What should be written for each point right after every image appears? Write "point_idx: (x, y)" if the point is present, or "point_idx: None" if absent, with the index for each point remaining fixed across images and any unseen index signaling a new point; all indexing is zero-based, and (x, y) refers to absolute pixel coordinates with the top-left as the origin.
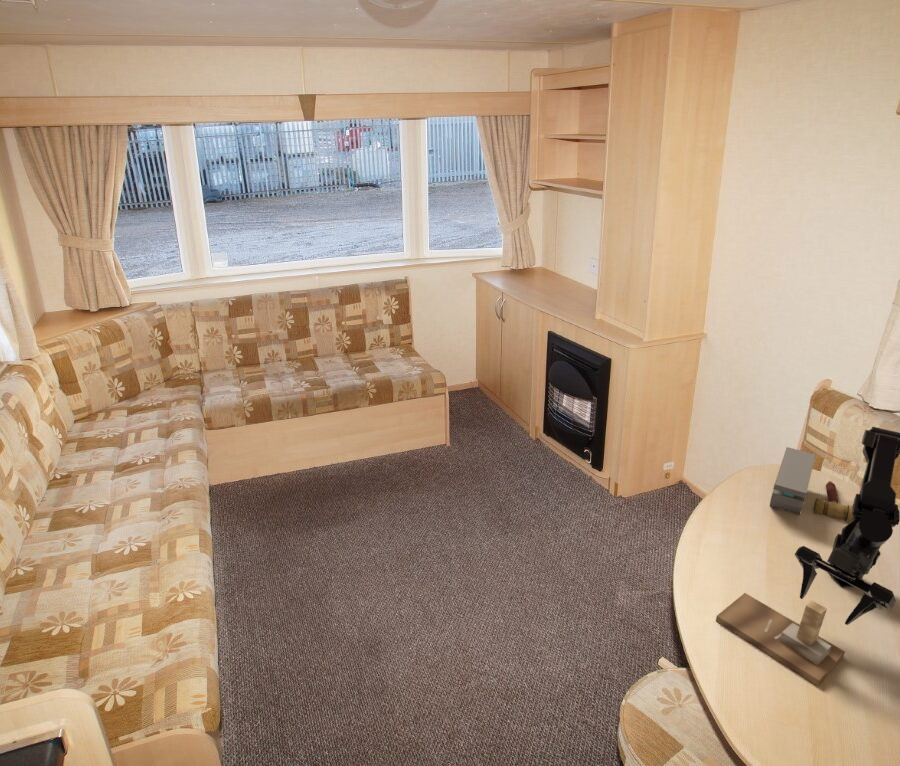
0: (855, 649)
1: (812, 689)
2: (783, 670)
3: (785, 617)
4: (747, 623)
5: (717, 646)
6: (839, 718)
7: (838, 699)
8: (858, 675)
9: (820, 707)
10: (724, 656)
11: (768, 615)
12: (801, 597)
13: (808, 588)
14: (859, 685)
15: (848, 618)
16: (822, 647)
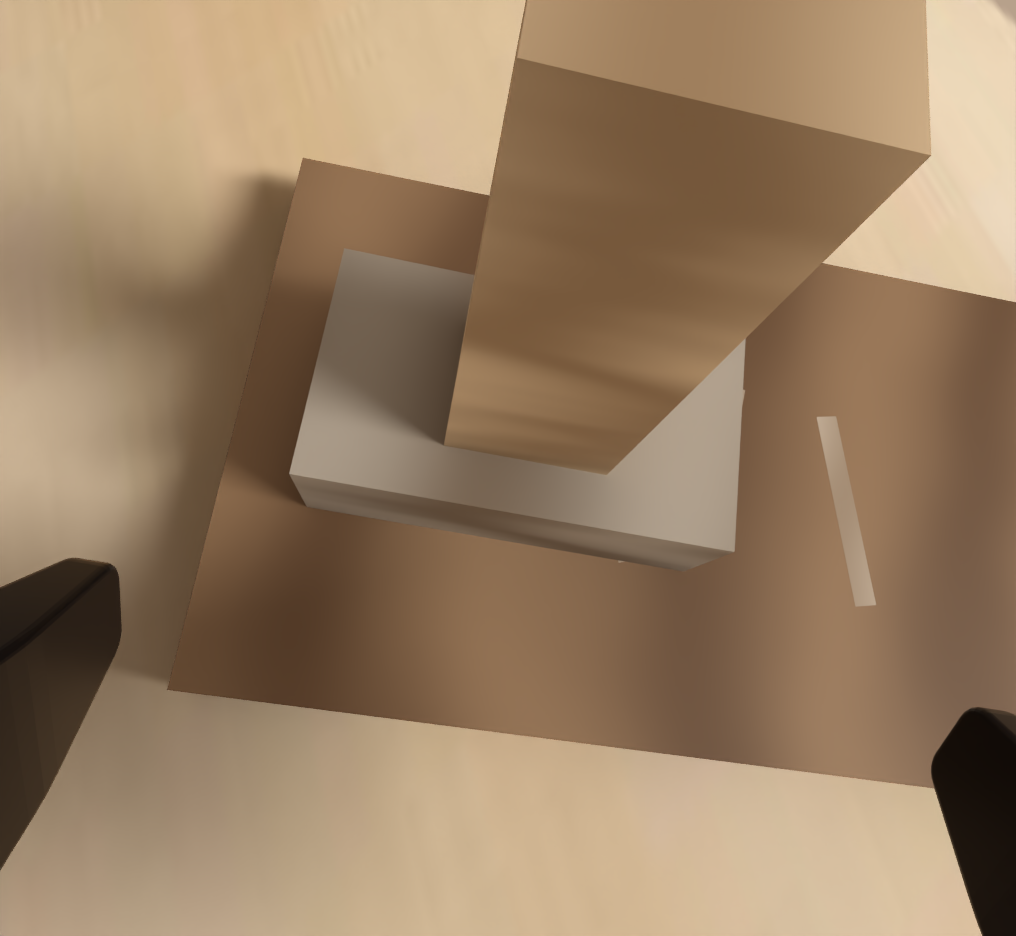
0: (93, 920)
1: (331, 151)
2: None
3: (795, 756)
4: (963, 406)
5: (941, 138)
6: (116, 19)
7: (148, 170)
8: (28, 537)
9: (247, 36)
10: None
11: (911, 649)
12: (985, 712)
13: None
14: (9, 418)
15: (21, 616)
16: (363, 383)
